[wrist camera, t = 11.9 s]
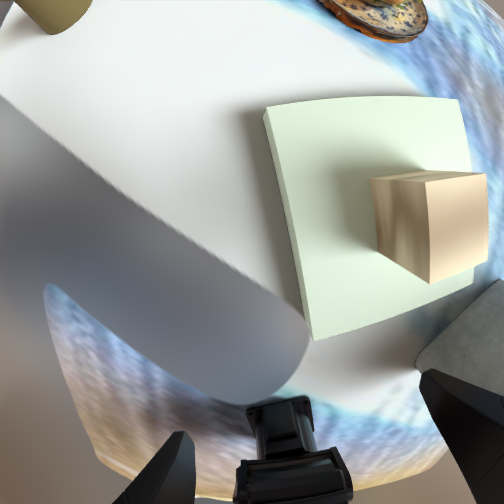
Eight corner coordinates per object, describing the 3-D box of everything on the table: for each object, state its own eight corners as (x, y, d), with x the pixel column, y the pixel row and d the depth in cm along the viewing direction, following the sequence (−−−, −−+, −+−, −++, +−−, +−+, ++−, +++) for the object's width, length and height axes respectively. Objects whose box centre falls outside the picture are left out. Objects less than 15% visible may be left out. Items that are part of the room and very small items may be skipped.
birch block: (432, 237, 17) (487, 260, 11) (378, 252, 17) (429, 284, 11) (426, 170, 16) (485, 173, 10) (368, 178, 16) (424, 182, 10)
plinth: (454, 272, 21) (472, 283, 18) (305, 321, 22) (313, 341, 19) (436, 105, 17) (457, 99, 14) (262, 117, 17) (266, 107, 14)
